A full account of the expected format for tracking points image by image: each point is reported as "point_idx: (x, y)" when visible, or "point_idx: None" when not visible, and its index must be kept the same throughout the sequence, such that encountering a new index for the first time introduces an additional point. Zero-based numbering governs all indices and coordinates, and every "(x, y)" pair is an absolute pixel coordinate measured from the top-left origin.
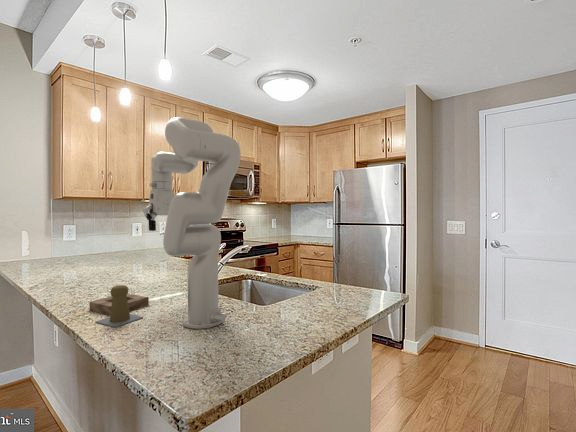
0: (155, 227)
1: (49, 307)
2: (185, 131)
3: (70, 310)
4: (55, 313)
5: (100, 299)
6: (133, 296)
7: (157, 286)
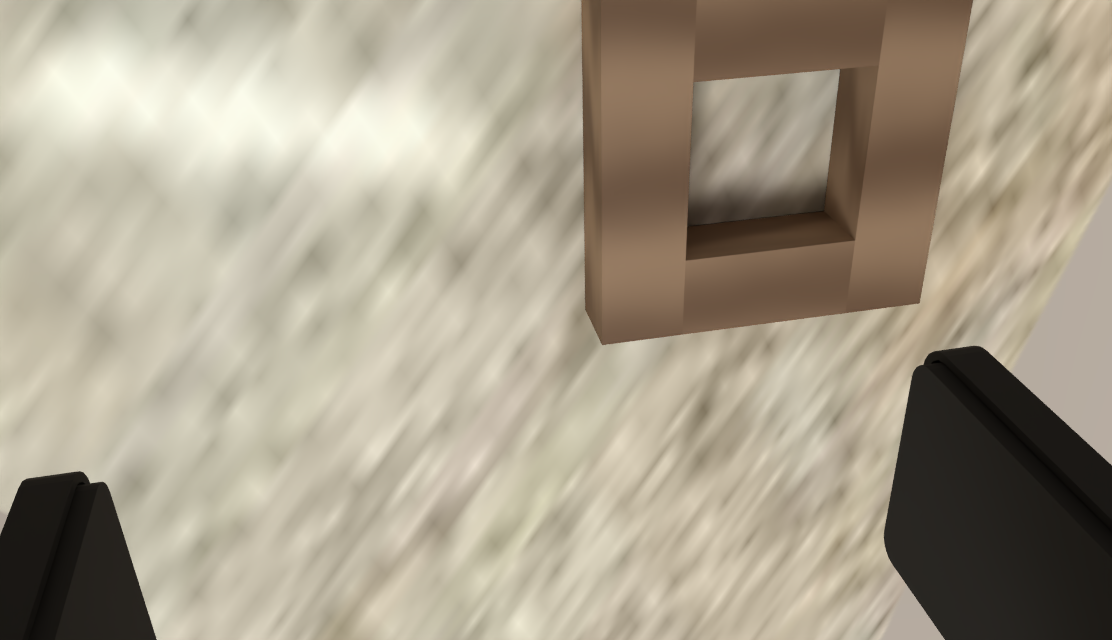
0: (993, 399)
1: None
2: None
3: None
4: None
5: (836, 306)
6: (650, 159)
7: None
